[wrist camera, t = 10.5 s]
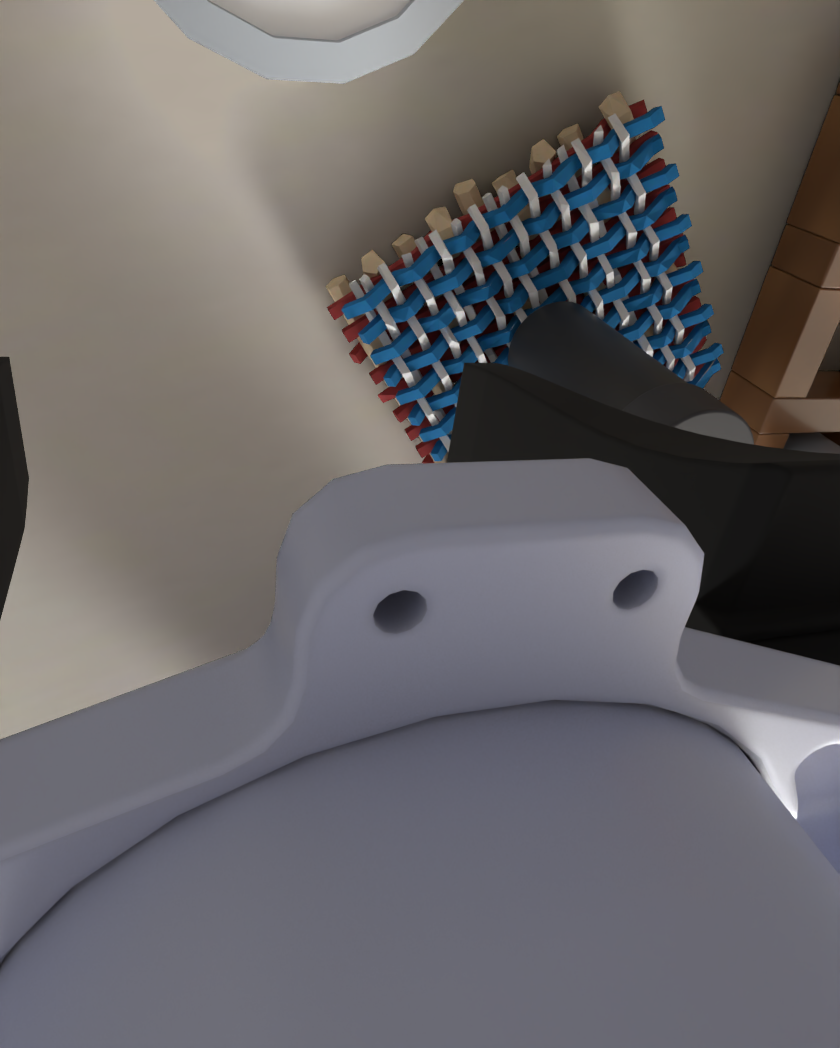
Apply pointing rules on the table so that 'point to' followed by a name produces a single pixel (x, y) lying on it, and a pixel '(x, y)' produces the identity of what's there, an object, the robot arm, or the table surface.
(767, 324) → the marker stand
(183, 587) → the table surface
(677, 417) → the cylinder
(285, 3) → the white cylinder
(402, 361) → the woven mat
